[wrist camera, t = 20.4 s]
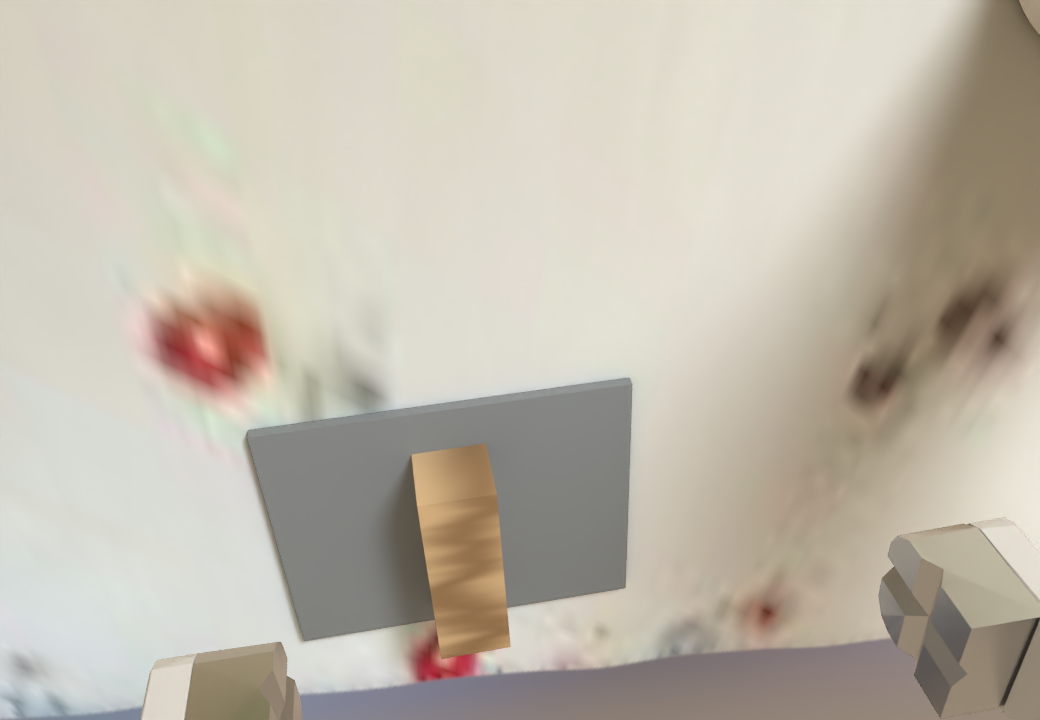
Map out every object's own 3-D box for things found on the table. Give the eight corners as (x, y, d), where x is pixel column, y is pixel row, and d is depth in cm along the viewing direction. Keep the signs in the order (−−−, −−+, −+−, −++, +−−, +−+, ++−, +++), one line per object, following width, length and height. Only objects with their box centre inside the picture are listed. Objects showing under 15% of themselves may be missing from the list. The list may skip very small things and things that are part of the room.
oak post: (441, 658, 52) (417, 506, 45) (434, 604, 55) (411, 454, 48) (510, 646, 52) (496, 494, 46) (500, 593, 56) (485, 443, 49)
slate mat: (629, 377, 49) (632, 384, 48) (622, 580, 58) (625, 588, 57) (248, 430, 46) (247, 437, 46) (304, 633, 56) (304, 641, 55)
